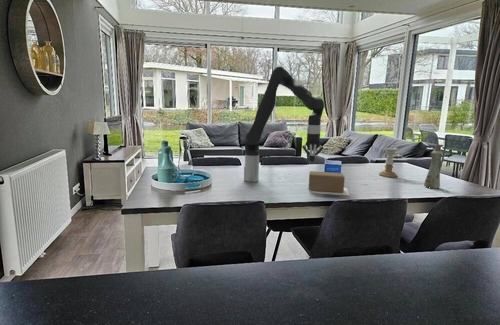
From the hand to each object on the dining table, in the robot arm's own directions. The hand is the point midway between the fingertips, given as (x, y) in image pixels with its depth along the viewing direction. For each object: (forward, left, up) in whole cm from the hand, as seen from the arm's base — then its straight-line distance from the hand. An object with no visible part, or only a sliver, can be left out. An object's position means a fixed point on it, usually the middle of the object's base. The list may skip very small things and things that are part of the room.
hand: (311, 161), depth 193 cm
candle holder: (+57, +52, -17) cm, 79 cm away
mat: (+11, 0, -17) cm, 20 cm away
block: (-1, 0, -12) cm, 12 cm away
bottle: (+77, +24, -17) cm, 82 cm away
